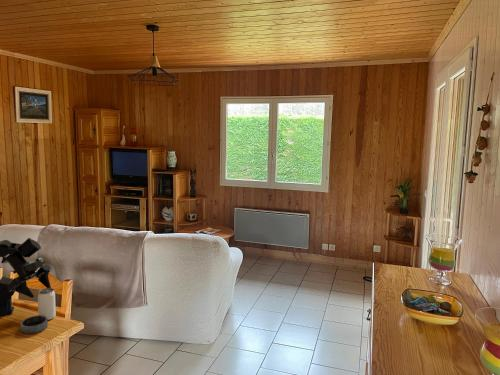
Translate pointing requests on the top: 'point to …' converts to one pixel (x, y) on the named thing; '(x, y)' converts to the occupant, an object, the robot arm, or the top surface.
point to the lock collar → (34, 324)
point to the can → (46, 303)
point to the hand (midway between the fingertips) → (41, 292)
